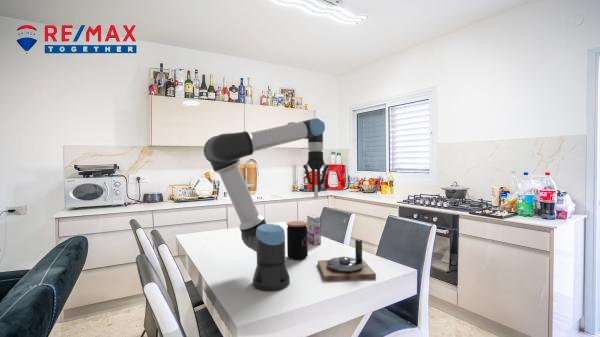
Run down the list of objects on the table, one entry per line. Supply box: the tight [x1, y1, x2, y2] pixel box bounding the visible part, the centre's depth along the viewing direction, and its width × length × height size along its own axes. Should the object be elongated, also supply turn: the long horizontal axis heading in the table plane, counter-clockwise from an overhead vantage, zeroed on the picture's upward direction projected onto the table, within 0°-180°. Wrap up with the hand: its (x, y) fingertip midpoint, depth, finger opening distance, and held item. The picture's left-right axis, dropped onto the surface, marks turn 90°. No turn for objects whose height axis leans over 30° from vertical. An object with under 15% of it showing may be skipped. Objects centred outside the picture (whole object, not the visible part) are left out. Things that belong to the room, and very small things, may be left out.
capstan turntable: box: [327, 239, 363, 273], centre depth 134 cm, size 16×16×12 cm
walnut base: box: [317, 258, 377, 282], centre depth 134 cm, size 22×20×2 cm
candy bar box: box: [306, 214, 322, 246], centre depth 183 cm, size 11×5×16 cm, turn 21°
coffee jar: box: [286, 220, 309, 261], centre depth 155 cm, size 11×11×18 cm
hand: (316, 198), depth 148 cm, fingers closed
